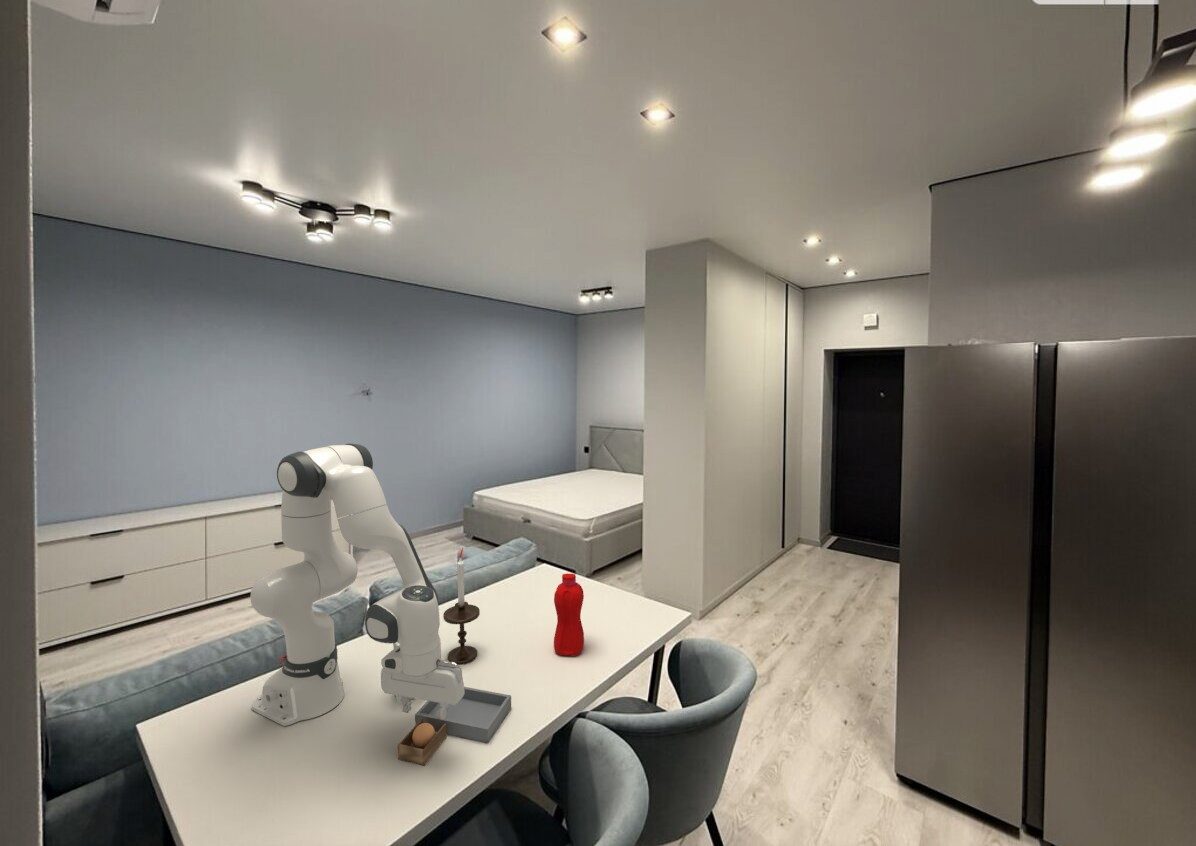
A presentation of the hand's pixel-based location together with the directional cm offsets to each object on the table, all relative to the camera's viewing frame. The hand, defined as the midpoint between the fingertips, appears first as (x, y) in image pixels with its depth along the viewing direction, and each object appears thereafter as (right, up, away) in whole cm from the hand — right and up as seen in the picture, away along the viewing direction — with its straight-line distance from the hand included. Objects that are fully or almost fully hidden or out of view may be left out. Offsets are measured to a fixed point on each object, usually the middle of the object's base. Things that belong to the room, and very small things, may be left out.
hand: (424, 714), depth 114 cm
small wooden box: (-1, -9, +1) cm, 9 cm away
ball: (-1, -6, +1) cm, 6 cm away
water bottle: (+31, -5, +44) cm, 54 cm away
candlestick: (-2, -5, +39) cm, 40 cm away
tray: (+6, -8, +12) cm, 15 cm away
